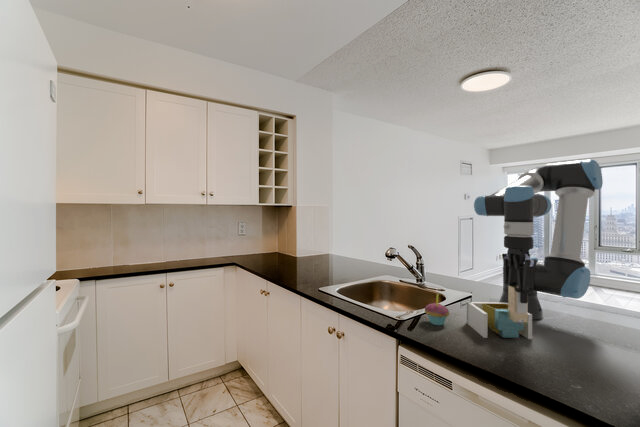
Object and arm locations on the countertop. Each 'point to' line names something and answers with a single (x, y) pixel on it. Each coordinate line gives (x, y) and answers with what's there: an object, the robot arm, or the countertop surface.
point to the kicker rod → (510, 316)
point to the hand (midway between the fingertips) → (517, 310)
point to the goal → (480, 320)
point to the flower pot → (492, 313)
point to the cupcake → (436, 312)
